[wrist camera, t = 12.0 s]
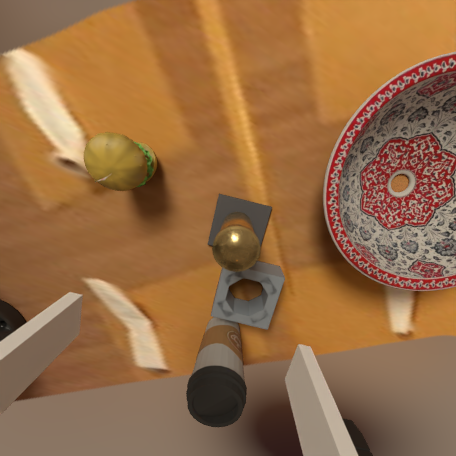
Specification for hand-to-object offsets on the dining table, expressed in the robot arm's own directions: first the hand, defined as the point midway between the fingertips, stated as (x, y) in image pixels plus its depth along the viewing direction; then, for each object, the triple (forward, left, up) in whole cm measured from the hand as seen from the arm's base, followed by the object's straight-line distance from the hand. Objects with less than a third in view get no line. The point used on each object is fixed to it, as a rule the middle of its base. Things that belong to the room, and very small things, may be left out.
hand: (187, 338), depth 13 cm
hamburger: (-15, +8, -26) cm, 31 cm away
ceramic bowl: (+26, +15, -26) cm, 39 cm away
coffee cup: (+5, -19, -26) cm, 33 cm away
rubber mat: (+3, +2, -26) cm, 26 cm away
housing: (+7, -9, -26) cm, 28 cm away
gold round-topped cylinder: (+2, +1, -25) cm, 25 cm away
